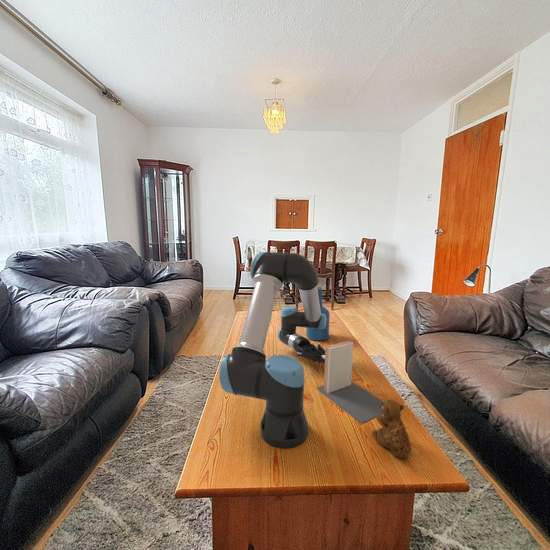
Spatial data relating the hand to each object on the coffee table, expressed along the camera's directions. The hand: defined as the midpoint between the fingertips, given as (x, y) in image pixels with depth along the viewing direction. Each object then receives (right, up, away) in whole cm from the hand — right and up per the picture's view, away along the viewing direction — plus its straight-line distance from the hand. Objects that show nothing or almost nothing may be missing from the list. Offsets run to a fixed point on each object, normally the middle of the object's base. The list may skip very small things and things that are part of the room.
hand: (333, 364), depth 118 cm
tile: (+1, -8, -2) cm, 9 cm away
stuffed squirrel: (+11, -14, -32) cm, 37 cm away
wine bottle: (+1, 0, +51) cm, 51 cm away
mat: (+5, -10, -9) cm, 14 cm away
